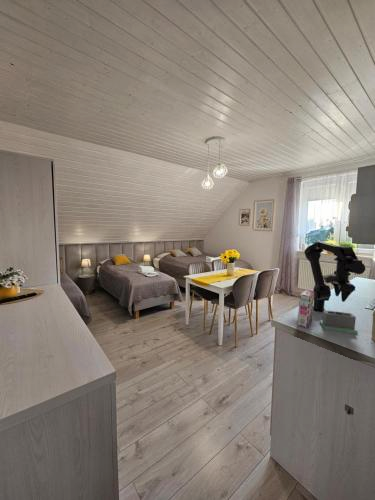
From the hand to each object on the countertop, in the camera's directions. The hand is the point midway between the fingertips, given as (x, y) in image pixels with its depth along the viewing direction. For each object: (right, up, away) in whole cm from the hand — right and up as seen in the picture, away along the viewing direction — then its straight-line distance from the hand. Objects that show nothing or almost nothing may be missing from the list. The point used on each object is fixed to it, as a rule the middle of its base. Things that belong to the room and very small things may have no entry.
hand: (339, 298), depth 119 cm
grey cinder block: (-7, -11, -8) cm, 15 cm away
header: (-7, -13, -8) cm, 17 cm away
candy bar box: (-20, -12, -3) cm, 24 cm away
